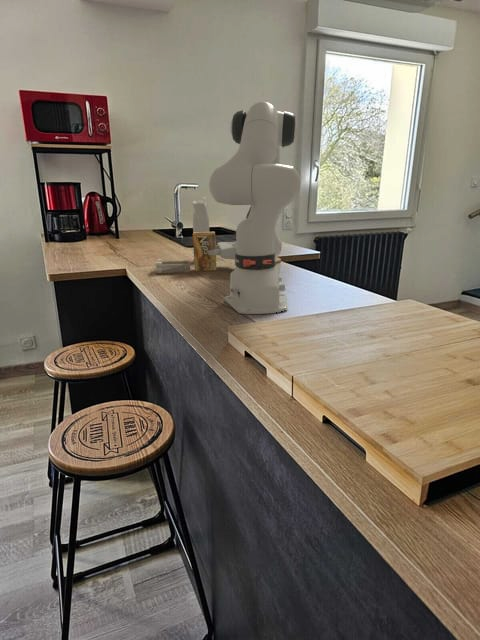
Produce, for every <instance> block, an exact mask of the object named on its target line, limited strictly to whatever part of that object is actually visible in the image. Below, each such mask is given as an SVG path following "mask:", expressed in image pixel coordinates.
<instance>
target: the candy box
mask: <svg viewBox="0 0 480 640" xmlns="http://www.w3.org/2000/svg"><path fill="white" fill-rule="evenodd" d="M192 232H193V231H192ZM192 245H193V259H194V260H193V263H194V271H195V272H202V271H203V272H205V271H206V272H207V271H210V272H211V271H217V255H209V254H208V250H216V246H215V245H216V232H215V231H209V232H193V233H192Z"/></svg>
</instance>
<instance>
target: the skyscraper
mask: <svg viewBox="0 0 480 640" xmlns="http://www.w3.org/2000/svg"><path fill="white" fill-rule="evenodd" d="M191 204H192V207H193V216H192V230H193V231H192V232H210V218H209V215H208V211H207V206H208V199H207V198H206V197H205V196H204V197H203V198H202V200H197V201H195V200H193V201H192V203H191ZM193 261H194V258H193Z"/></svg>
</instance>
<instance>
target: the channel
mask: <svg viewBox="0 0 480 640" xmlns="http://www.w3.org/2000/svg"><path fill="white" fill-rule="evenodd" d="M155 265H156V275H157V276H158V275H159V276H162V275H161V274H164V275H182V273H185V274H191V260H190V259H189V260H188V259H185V260H170V261H169V260H168V261H167V260H165V261H163V259H162V258H158V259H156V262H155Z"/></svg>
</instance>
